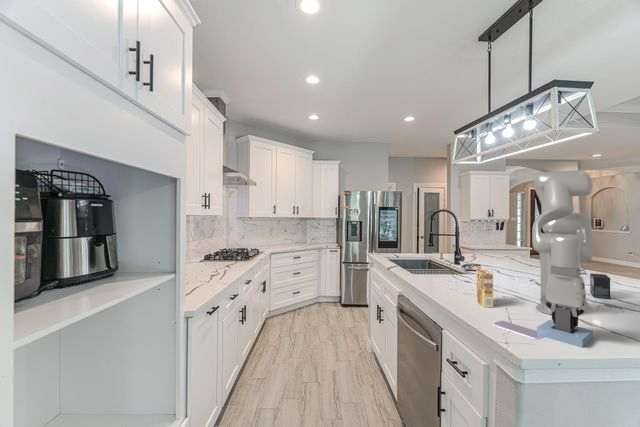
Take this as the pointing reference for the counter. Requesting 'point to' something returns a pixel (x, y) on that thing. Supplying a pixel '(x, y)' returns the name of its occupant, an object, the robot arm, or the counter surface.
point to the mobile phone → (518, 330)
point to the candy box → (485, 288)
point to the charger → (563, 319)
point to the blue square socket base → (566, 334)
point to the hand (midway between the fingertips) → (564, 324)
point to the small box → (600, 286)
